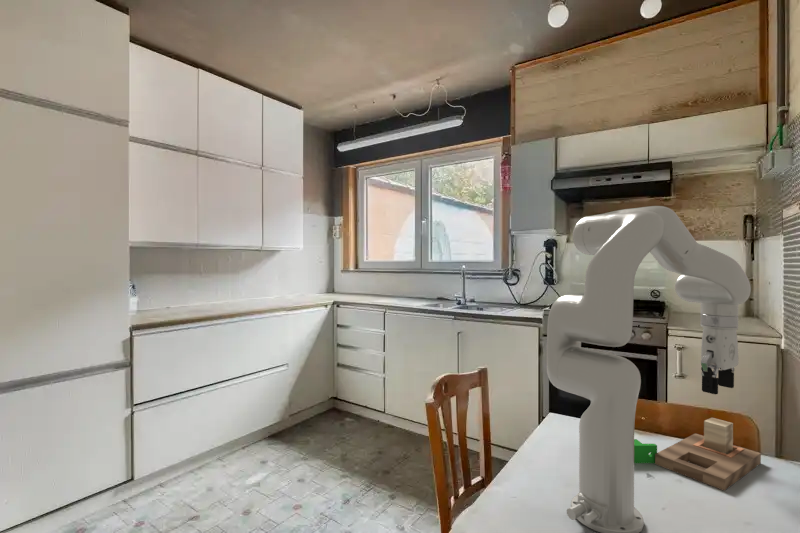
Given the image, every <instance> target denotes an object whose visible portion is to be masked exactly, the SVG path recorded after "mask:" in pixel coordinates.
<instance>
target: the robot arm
mask: <svg viewBox="0 0 800 533" xmlns="http://www.w3.org/2000/svg"><path fill="white" fill-rule="evenodd" d="M572 240H573V244H574V246H575V248H576V249H577V251H579V252H580V253H582V254H584V255H588V256H593V257H592V258H591V260H590V261H589V263H588V265H587V268H586V271H585V276H584V278H585V281H584V290H583V291H584V293H583V295H582V294H565V295H562V296H559V297H558V298H557V299H556V300H555V301H554V302H553V303H552V305H551V307H550V309H549V312H548V317H547V327H546V329H547V330H546V334H547V335H546V374H547V377H548V379H549V382H550V384H552V385H553V387H555V388H557V389H558V390H561V391H564V392H566V393H570V394H573V395H575V396H579V397H582V398H584V399H587V400H589V401H590V405H589V406H588V407H587V409H586V410H585V411H584V412H583V413H582V415H581V416H580V419H579V426H578V429H579V430H578V431H579V432H578V433H579V435H578V437H579V439H578V440H579V442H578V443H579V444H578V445H579V448H578V449H579V450H578V452H579V454H578V455H579V457H578V459H579V461H578V462H579V465H578V466H579V469H578V471H579V472H578V473H579V476H578V477H579V478H578V479H579V482H578V483H579V484H578V486H579V487H578V493H577V495H575V496H574V497H573V498H571V500H570V506H569V507H568V508H567V509H566V515H567V517H568V518H569V519H570V520H573V521H575V520H577V521H579V522H580V523H581V524H582V525H584V527H585V526H586V527H587V528H589V529H590V530H593V531H596V532H598V533H640V532H642V530H643V529H644V525H645V524H644V518H643V515H642V513H641V512H640V511H639V510H638V509H637V508H636V507H635V463H634V439H635V420H636V411H637V403H638V399H639V395H640V394H639V393H640V391H641V384H642V379H641V378H642V377H641V373H640V370H639V368H638V367H637V366H636V365H635V363H633V362H632V361H631V360H630V359H627V358H626V357H623V356H621V355H618V354H614V353H611V352H605V351H600V350H599V351H598V350H595V349H588V348H582V343H585V344H591V345H597V346H603V347H612V348H616V347H617V348H619V347H623V346H625V345H626V344H628V343H629V341H630V340H631V337H632V333H633V324H634V323H633V322H634V294H635V293H634V292H635V291H634V287H635V277H636V274H637V271H638V269H639V267H640V265H641V263H642V261H644V259H645V258H646V256H647V255H648V254H649V253H650V254H651V255H652V256H653V258H654V259H655V261H657V263H658V264H659V265H660V266H661V267H662V268H664V269H665V270H667V271H669V272H672V273H674V274H675V273H676V274H679V275H680V276H678V278H677V279H676V281H675V283H674V291H675V294H676V295H677V297H678V298H680V299H681V300H683V301H686V302H688V303H696V304H700V314H699V315H700V319H699V320H700V322H699V323H700V325H699V326H700V327H701V328H702V336H701V337H702V338H701V346H700V347H701V348H700V350H701V351H700V358H701V359H700V364H701V368H700V370H701V391H702V392H703V393H708V394H711V395H718V394H719V386H721V387H724V388H727V389H728V388H729V389H734V386H735V367H737V366H738V365H739V343H738V332H737V330H739V305H742V304H744V303H745V302H747V301H748V300H749V298H750V295H751V290H752V287H751V282H750V279H749V278H748V275H747V274H746V272H745V270H744V269H743V267H742V266H741V265H740V264H739V263H738V261H736V260H735V259H734V258H732V257H731V256H729V255H727V254H725V253H722V252H720V251H717V249H716V250H715V249H713V248H712V247H708V246H706V245H704V244H701V243H698V242H697V240H696V239H695V238H694V236H693V235H692V233H691V232H690V231H689V230H688V228H687V227H686V225H685V224H684V222H683V221H682V220H681V218H680V217H679V216H678V215H677V213H676V212H675V211H674V210H673V209H671V208H670V207H667V206H663V205H651V206H642V207H635V208H634V207H633V208H625V209H618V210H614V211H610V212H605V213H604V212H603V213H600V214H599V213H598V214H594V215H593V214H592V215H588V216H584V217H582V218H580V219H579V220H578V221H577V222H576V224H575V226H574V228H573V231H572Z"/></svg>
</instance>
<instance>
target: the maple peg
mask: <svg viewBox="0 0 800 533" xmlns="http://www.w3.org/2000/svg"><path fill="white" fill-rule="evenodd" d="M703 436H704V447H706V448H710V449H713V450H716V451H719V452H722V453H725V454H729V453H731V452H732V451H733V445H734V423H733V422H730V421H726V420H722V419H719V418H715V417H710V418H707V419H705V420H703Z"/></svg>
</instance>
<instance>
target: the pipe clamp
mask: <svg viewBox="0 0 800 533" xmlns="http://www.w3.org/2000/svg"><path fill="white" fill-rule="evenodd" d="M656 453H658V445H657V444H656V443H642V442H641V441H640V440H638V439H635V438H634V464H655V454H656Z"/></svg>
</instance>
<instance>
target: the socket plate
mask: <svg viewBox="0 0 800 533" xmlns="http://www.w3.org/2000/svg"><path fill="white" fill-rule="evenodd" d="M761 460H762V453H761V452H758V451H755V450H751V449H749V448H745V447H741V446H738V445H735V444H733V451H732V452H731V453H729V454H725V453H722V452H719V451H716V450H713V449H710V448H706V447H704V435H702V434H699V433H693V434H691V435H689V436H687V437H685V438H684V439H681V440H679V441H678V442H676V443H673V444H671V445H670V446H668V447H666V448H664V449H662V450H660V451H657V453H656V454H655V463H654V464H655V465H656V466H659V467H660V468H661V467H662V468H664V469H667V470H669V471H672V472H675V473H677V474H680V475H683V476H685V477H688V478H690V479H693V480H696V481H698V482H701V483H703V484H706V485H709V486H711V487H714V488H717V489H719V490H722V491H726V490H727V489H729V488H730V487H731V486H733V485H734V484H736V483H737V482H738V481H740V480H741V479H742V478H744V477H745V476H746V475H747V474H749V473H750V472H751V471H753V470H754V469H755V468H757V467H758V466H759V465H761V464H760V463H762V461H761ZM757 465H758V466H757ZM756 466H757V467H756ZM752 469H753V470H752Z"/></svg>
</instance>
